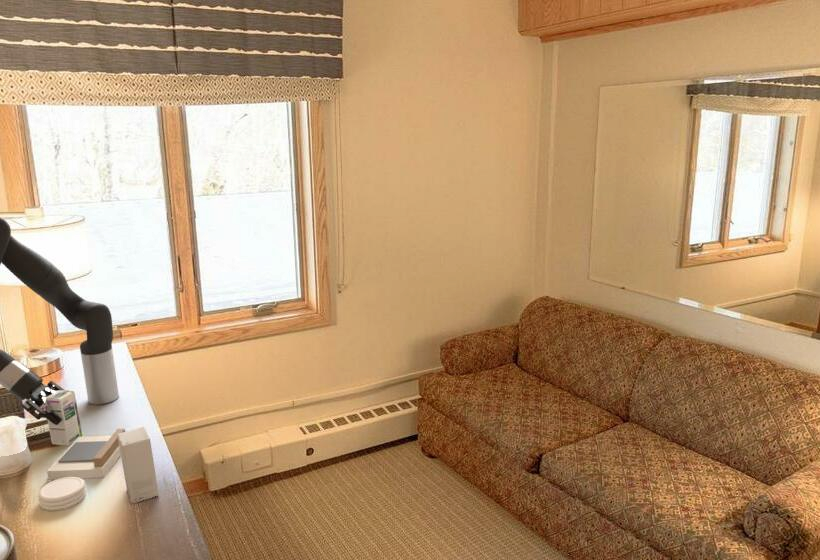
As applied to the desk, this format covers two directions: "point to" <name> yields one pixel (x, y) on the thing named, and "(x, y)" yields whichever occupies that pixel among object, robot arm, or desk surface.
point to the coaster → (62, 493)
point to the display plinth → (87, 457)
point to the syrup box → (64, 418)
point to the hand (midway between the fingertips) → (67, 415)
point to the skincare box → (138, 464)
